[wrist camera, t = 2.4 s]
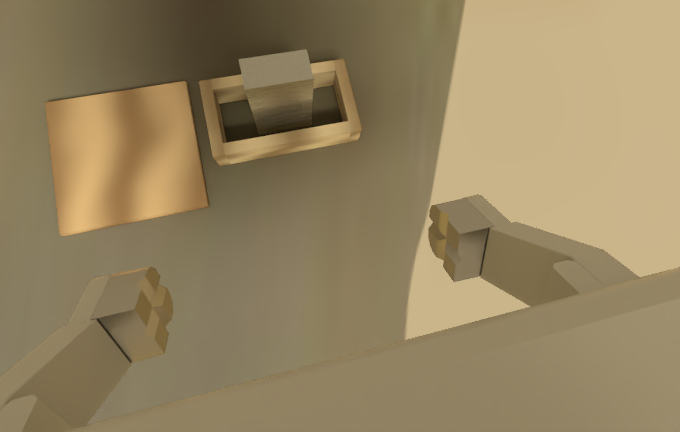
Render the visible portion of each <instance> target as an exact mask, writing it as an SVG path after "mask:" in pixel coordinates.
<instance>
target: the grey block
mask: <svg viewBox="0 0 680 432" xmlns="http://www.w3.org/2000/svg"><path fill="white" fill-rule="evenodd" d="M238 60H239V64H240V69H241V74H242V79H243V84H244V88H245V92H246V95H247V98H248V102H249V105H250V108H251V111H252V114H253V117H254V121H255V124H256V127H257V130H258V133H259V135H262V134H267V133H273V132H279V131H284V130H290V129H295V128H301V127H307V126H312V106H313V83H314V78H313V73H312V69H311V65H310V61H309V57H308V53H307V49H305V50H298V51H291V52H284V53H278V54H271V55H264V56H257V57H251V58H244V59H238Z"/></svg>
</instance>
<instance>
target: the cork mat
mask: <svg viewBox="0 0 680 432" xmlns="http://www.w3.org/2000/svg"><path fill="white" fill-rule="evenodd" d="M45 107H46V116H47V125H48V134H49V143H50V152H51V161H52V170H53V179H54V188H55V196H56V205H57V214H58V223H59V232H60V235H61V236H67V235H72V234H77V233H82V232H87V231H92V230H96V229H101V228H106V227H111V226H116V225H121V224H126V223H131V222H136V221H141V220H146V219H151V218H156V217H161V216H166V215H171V214H176V213H181V212H186V211H190V210H195V209H200V208H205V207H210V206H209V200H208V195H207V189H206V184H205V178H204V173H203V167H202V162H201V156H200V151H199V145H198V140H197V134H196V129H195V123H194V118H193V112H192V106H191V101H190V95H189V90H188V84H187V82H186V81H182V82H175V83H169V84H162V85H156V86H149V87H143V88H136V89H130V90H123V91H117V92H110V93H104V94H97V95H91V96H84V97H78V98H71V99H65V100H58V101H52V102H45Z"/></svg>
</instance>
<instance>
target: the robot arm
mask: <svg viewBox="0 0 680 432" xmlns="http://www.w3.org/2000/svg"><path fill="white" fill-rule="evenodd" d="M429 217H430V218H431V220H432V221H433V223H432V225H431V226H430V227H429V242H430V246H431V248H432V251H433V252H434V254H435V255H436V257H438V258H440V259H442V260H444V264H443V267H444V269H445V270H446V271H447V273H448V274H449V276H450V277H451V279H452V280H453V281H454V282H456V281H460V280H464V279H469V278H474V277H478V276H481V278H483V279H484V280H486V281H488V282H489V283H491V284H493V285H495V286H496V287H498V288H500V289H502V290H503V291H505V292H507V293H509V294H510V295H512V296H514V297H515V298H517V299H519V300H521V301H522V302H524V303H526V304H527V305H529V306H531V307H528V308H525V309H521V310H517V311H513V312H509V313H506V314H502V315H498V316H494V317H491V318H487V319H483V320H479V321H476V322H472V323H468V324H464V325H461V326H457V327H453V328H449V329H446V330H442V331H438V332H434V333H431V334H427V335H423V336H419V337H415V338H412V339H408V340H404V341H400V342H397V343H393V344H389V345H385V346H382V347H378V348H374V349H370V350H367V351H363V352H359V353H355V354H352V355H348V356H344V357H340V358H337V359H333V360H329V361H325V362H322V363H318V364H314V365H310V366H307V367H303V368H299V369H295V370H292V371H288V372H284V373H280V374H277V375H273V376H269V377H265V378H262V379H258V380H254V381H250V382H247V383H243V384H239V385H235V386H232V387H228V388H224V389H220V390H217V391H213V392H209V393H205V394H202V395H198V396H194V397H190V398H187V399H183V400H179V401H175V402H172V403H168V404H164V405H160V406H157V407H153V408H149V409H145V410H142V411H138V412H134V413H130V414H127V415H123V416H119V417H115V418H112V419H108V420H104V421H100V422H97V423H93V424H89V425H86V424H87V423H88V422H89V421H90V419H91V418H92V417H93V415H94V414H95V413H96V411H97V410H98V409H99V407H100V406H101V405H102V403H103V402H104V401H105V399H106V398H107V397H108V395H109V394H110V393H111V391H112V390H113V389H114V388H115V386H116V385H117V384H118V382H119V381H120V380H121V378H122V377H123V376H124V374H125V373H126V372H127V370H128V369H129V368H130V366H131V363H134V362H137V361H141V360H145V359H148V358H152V357H156V356H159V355H163V354H165V349H166V344H167V340H168V335H169V333H168V331H167V330H166V328H165V327H166V326H167V325H168V324H169V322H170V321H171V320H172V315H173V303H172V299H171V296H170V293H169V291H168V289H167V288H166V287H164V286H162V285H160V284H159V280H160V275H159V274H158V272H157V270H156V269H155V268H153V267H147V268H142V269H137V270H132V271H126V272H121V273H116V274H113V275H107V276H102V277H98V278H94V279H92V280H91V281H90V282H89V283H88V285H87V287H86V289H85V291H84V293H83V295H82V297H81V299H80V301H79V303H78V305H77V307H76V309H75V311H74V313H73V315H72V317H71V319H70V321H69V323H68V325H67V326H64V327H60V328H59V329H58V330H57V331H55V332H54V333H53V334H52V335H51V336H49V337H48V338H47V339H46V340H45V341H43V342H42V343H41V344H40V345H38V346H37V347H36V348H35V349H34V350H32V351H31V352H30V353H29V354H28V355H26V356H25V357H24V358H23V359H22V360H20V361H19V362H18V363H17V364H15V365H14V366H13V367H12V368H11V369H9V370H8V371H7V372H6V373H5V374H3V375H2V376H1V377H0V432H680V267H678V268H674V269H671V270H667V271H664V272H659V273H656V274H652V275H648V276H644V277H641V278H640V277H638V276H637V275H636V274H634V273H633V272H632V271H630V270H629V269H628V268H627V267H625V266H624V265H623V264H621V263H620V262H619V261H617V260H616V259H615V258H614V257H612V256H611V255H610V254H608V253H607V252H605V251H604V250H602V249H599V248H596V247H593V246H590V245H587V244H584V243H580V242H577V241H574V240H571V239H567V238H565V237H561V236H558V235H555V234H552V233H549V232H546V231H543V230H540V229H537V228H534V227H531V226H527V225H524V224H521V223H518V222H513V223H511V222H510V221H509V220H508V219H507V218H506V217H504V216H503V215H502V214H501V213H500V212H499V211H498V210H497V209H496V208H495V207H493V206H492V205H491V204H490V203H489V202H488V201H487V200H486V199H485V198H484V197H483V196H481V195H474V196H470V197H466V198H463V199H459V200H455V201H450V202H446V203H442V204H437V205H432V206H431V209H430V215H429Z"/></svg>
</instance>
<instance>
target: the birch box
mask: <svg viewBox="0 0 680 432" xmlns="http://www.w3.org/2000/svg"><path fill="white" fill-rule="evenodd" d="M310 65H311V69H312V73H313V78H314V83H313V88H319V87H325V86H331V85H334V89H335V93H336V97H337V101H338V105H339V109H340V113H341V117H342V121H343V122H340V123H334V124H329V125H323V126H317V127H312V128H306V129H301V130H295V131H289V132H284V133H278V134H273V135H267V136H262V137H256V138H250V139H245V140H239V141H234V142H228V143H227V141H226V136H225V131H224V126H223V121H222V115H221V110H220V105H219V104H221V103H227V102H233V101H240V100H246V99H248V98H247V95H246V92H245V88H244V84H243V79H242V74H241V75H235V76H228V77H222V78H215V79H209V80H202V81H199V86H200V91H201V97H202V102H203V107H204V113H205V118H206V123H207V129H208V134H209V140H210V145H211V150H212V156H213V158H214V159H215V160H216V162H217V163H218V164H219V166H224V165H229V164H234V163H240V162H245V161H250V160H256V159H261V158H266V157H272V156H277V155H282V154H288V153H293V152H298V151H303V150H309V149H314V148H319V147H325V146H330V145H335V144H341V143H346V142H351V141H357V140H358V139H359V136H360V133H361V131H362V127H361V124H360V120H359V116H358V112H357V108H356V104H355V100H354V96H353V93H352V89H351V85H350V81H349V77H348V73H347V69H346V65H345V62H344V59H339V60H332V61H326V62H319V63H313V64H310Z"/></svg>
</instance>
